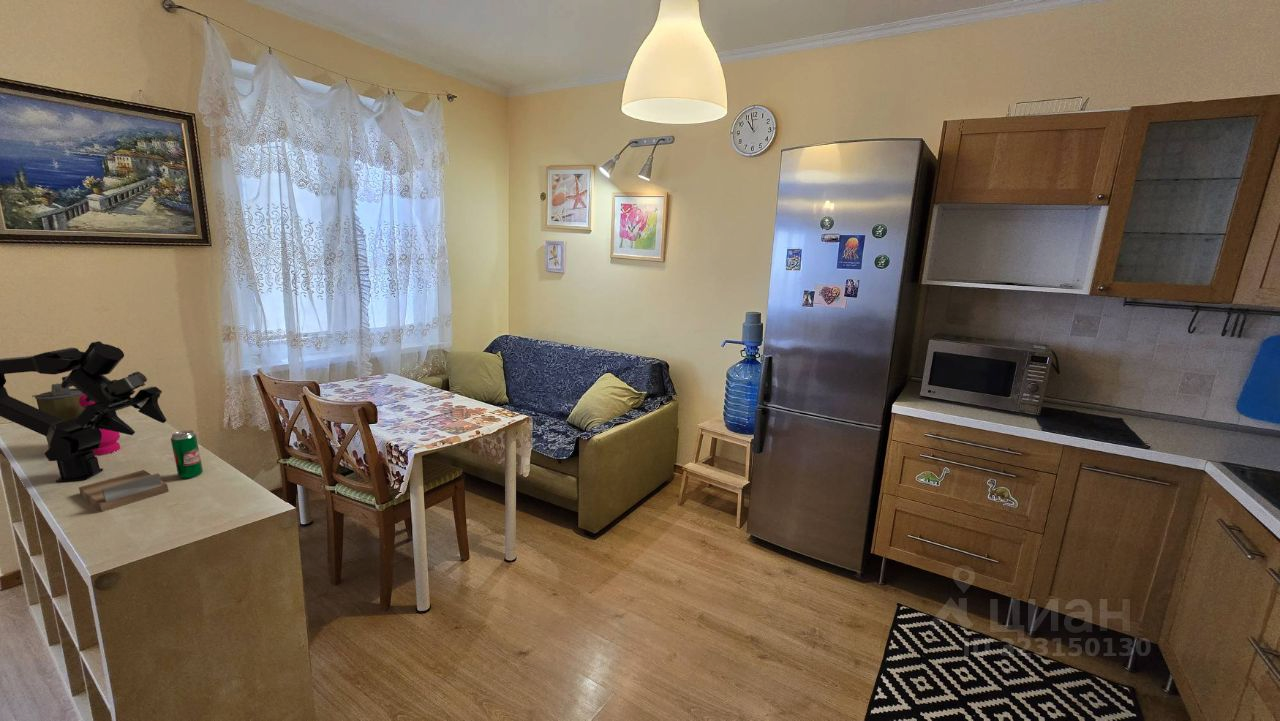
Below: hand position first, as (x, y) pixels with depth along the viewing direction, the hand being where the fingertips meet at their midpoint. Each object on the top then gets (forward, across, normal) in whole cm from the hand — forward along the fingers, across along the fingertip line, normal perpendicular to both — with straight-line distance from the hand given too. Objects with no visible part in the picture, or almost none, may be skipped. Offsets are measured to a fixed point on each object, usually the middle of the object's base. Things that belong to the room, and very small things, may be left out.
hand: (149, 427), depth 136 cm
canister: (-20, +20, +40) cm, 49 cm away
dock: (+10, -10, +10) cm, 17 cm away
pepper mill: (-12, +17, +31) cm, 38 cm away
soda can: (+15, 0, +4) cm, 16 cm away
